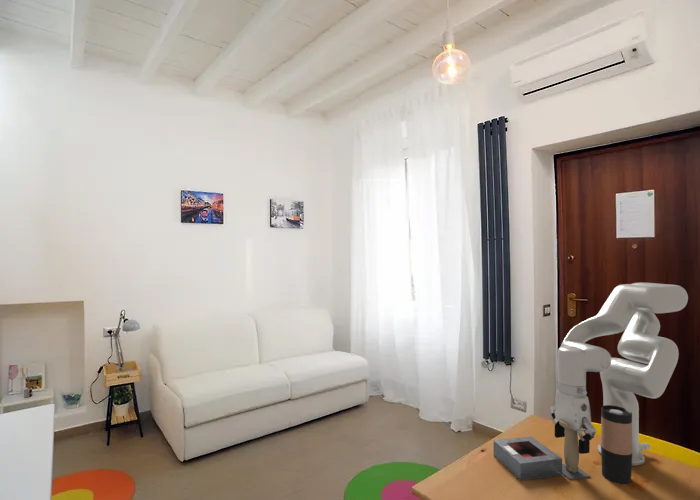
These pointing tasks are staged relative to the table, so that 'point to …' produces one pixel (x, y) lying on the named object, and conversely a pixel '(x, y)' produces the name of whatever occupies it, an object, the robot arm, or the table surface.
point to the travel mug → (616, 444)
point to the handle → (570, 447)
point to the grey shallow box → (531, 467)
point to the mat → (571, 475)
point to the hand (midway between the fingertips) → (571, 444)
